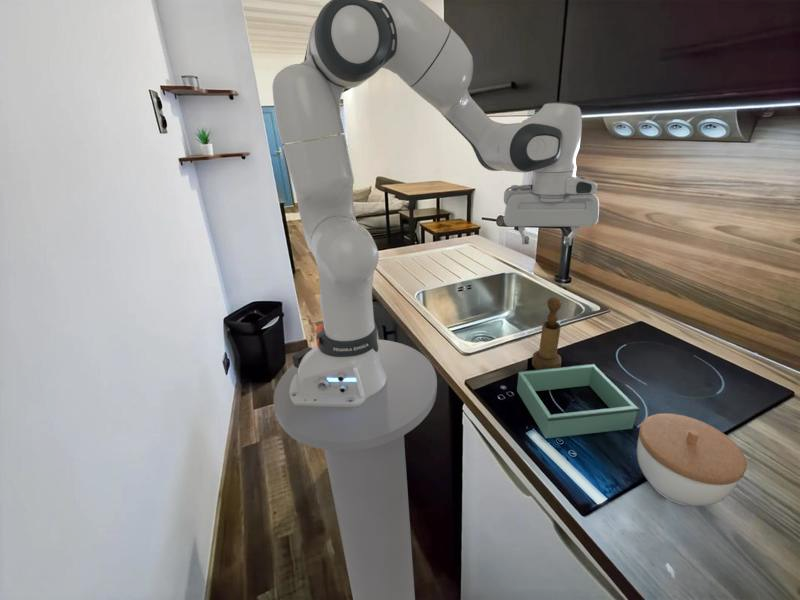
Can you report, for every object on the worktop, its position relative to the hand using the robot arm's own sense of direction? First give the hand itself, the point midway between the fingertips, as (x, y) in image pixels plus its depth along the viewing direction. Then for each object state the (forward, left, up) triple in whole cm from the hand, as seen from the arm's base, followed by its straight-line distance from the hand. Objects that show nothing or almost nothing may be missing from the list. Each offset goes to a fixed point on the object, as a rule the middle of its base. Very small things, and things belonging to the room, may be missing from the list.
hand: (545, 244), depth 87 cm
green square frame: (-4, -26, -27) cm, 38 cm away
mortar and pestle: (-2, -11, -27) cm, 29 cm away
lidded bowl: (+3, -45, -27) cm, 53 cm away
